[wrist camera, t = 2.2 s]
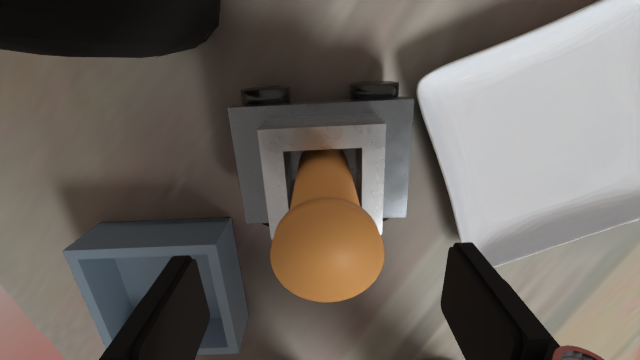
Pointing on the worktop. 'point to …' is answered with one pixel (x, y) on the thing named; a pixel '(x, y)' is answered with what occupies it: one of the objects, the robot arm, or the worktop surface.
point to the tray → (148, 262)
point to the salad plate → (541, 132)
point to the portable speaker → (106, 26)
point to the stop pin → (326, 233)
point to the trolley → (322, 146)
